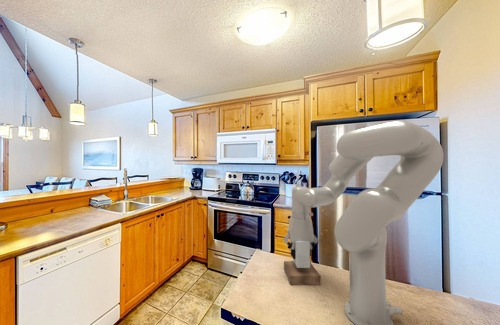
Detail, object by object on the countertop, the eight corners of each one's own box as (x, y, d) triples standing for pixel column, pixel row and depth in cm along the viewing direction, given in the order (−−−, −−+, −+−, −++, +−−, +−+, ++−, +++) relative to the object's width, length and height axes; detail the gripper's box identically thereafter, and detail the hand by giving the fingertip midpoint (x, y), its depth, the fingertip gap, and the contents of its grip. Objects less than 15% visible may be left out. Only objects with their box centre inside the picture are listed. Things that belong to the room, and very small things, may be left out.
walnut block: (309, 269, 84) (309, 260, 84) (320, 286, 72) (320, 275, 72) (283, 269, 83) (283, 261, 84) (290, 286, 71) (290, 276, 72)
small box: (310, 268, 74) (310, 242, 74) (296, 268, 74) (296, 242, 74) (304, 259, 82) (304, 235, 82) (292, 258, 82) (292, 235, 82)
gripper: (316, 213, 83) (317, 253, 82) (279, 213, 82) (279, 253, 81) (323, 217, 75) (324, 262, 74) (282, 217, 75) (282, 262, 74)
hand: (300, 257), depth 78 cm, fingers closed on small box, 5 cm apart
